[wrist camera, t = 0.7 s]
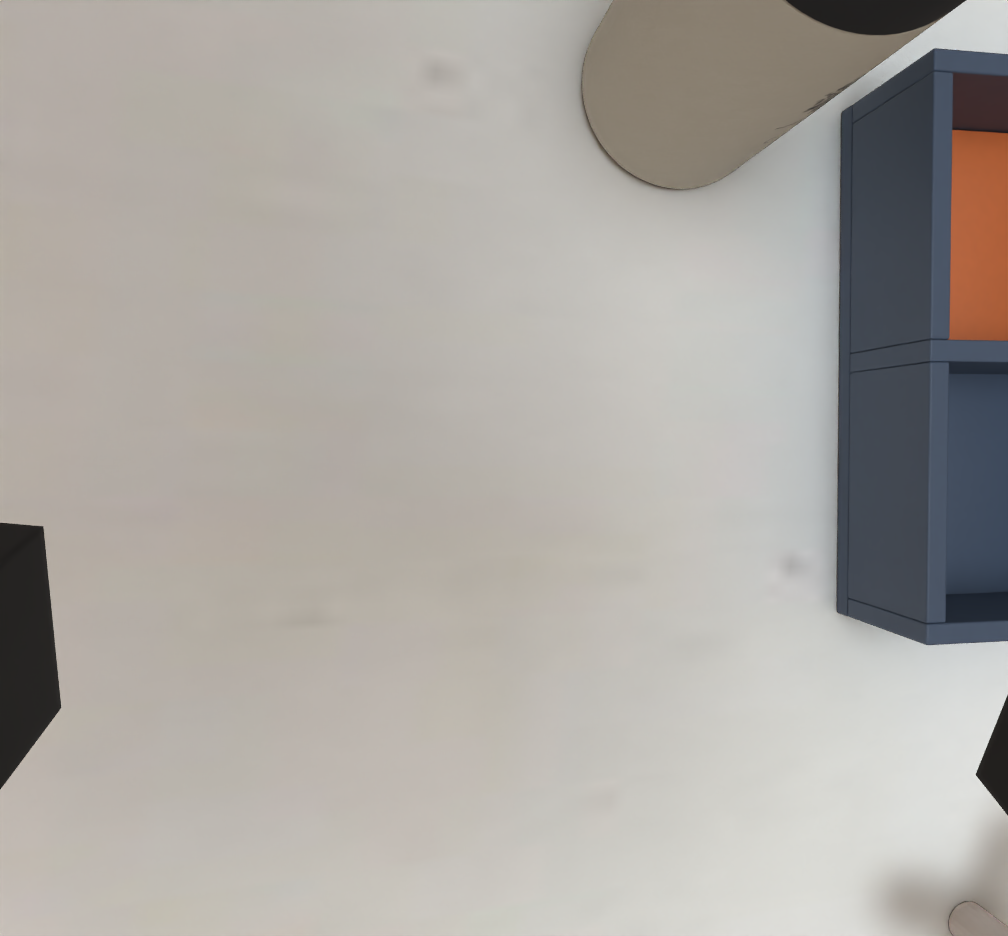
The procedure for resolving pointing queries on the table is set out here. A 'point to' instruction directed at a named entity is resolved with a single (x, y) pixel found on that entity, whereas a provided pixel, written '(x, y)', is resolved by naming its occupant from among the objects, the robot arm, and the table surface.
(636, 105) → the travel mug
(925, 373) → the divided storage bin
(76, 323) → the table surface
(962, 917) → the pipe connector
